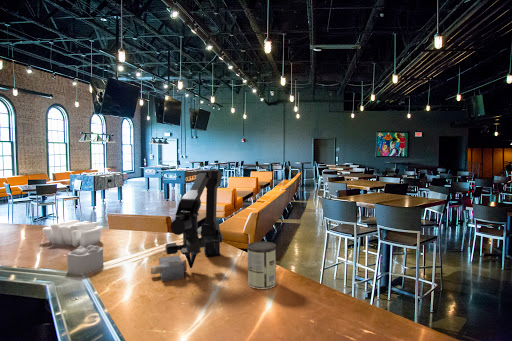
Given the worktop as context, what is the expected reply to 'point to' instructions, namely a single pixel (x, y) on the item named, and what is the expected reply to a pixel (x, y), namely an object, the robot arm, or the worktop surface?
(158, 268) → the pin
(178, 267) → the block
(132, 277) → the worktop surface
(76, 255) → the lumpy-topped squat cylinder
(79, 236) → the wavy white extrusion
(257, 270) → the coffee can
